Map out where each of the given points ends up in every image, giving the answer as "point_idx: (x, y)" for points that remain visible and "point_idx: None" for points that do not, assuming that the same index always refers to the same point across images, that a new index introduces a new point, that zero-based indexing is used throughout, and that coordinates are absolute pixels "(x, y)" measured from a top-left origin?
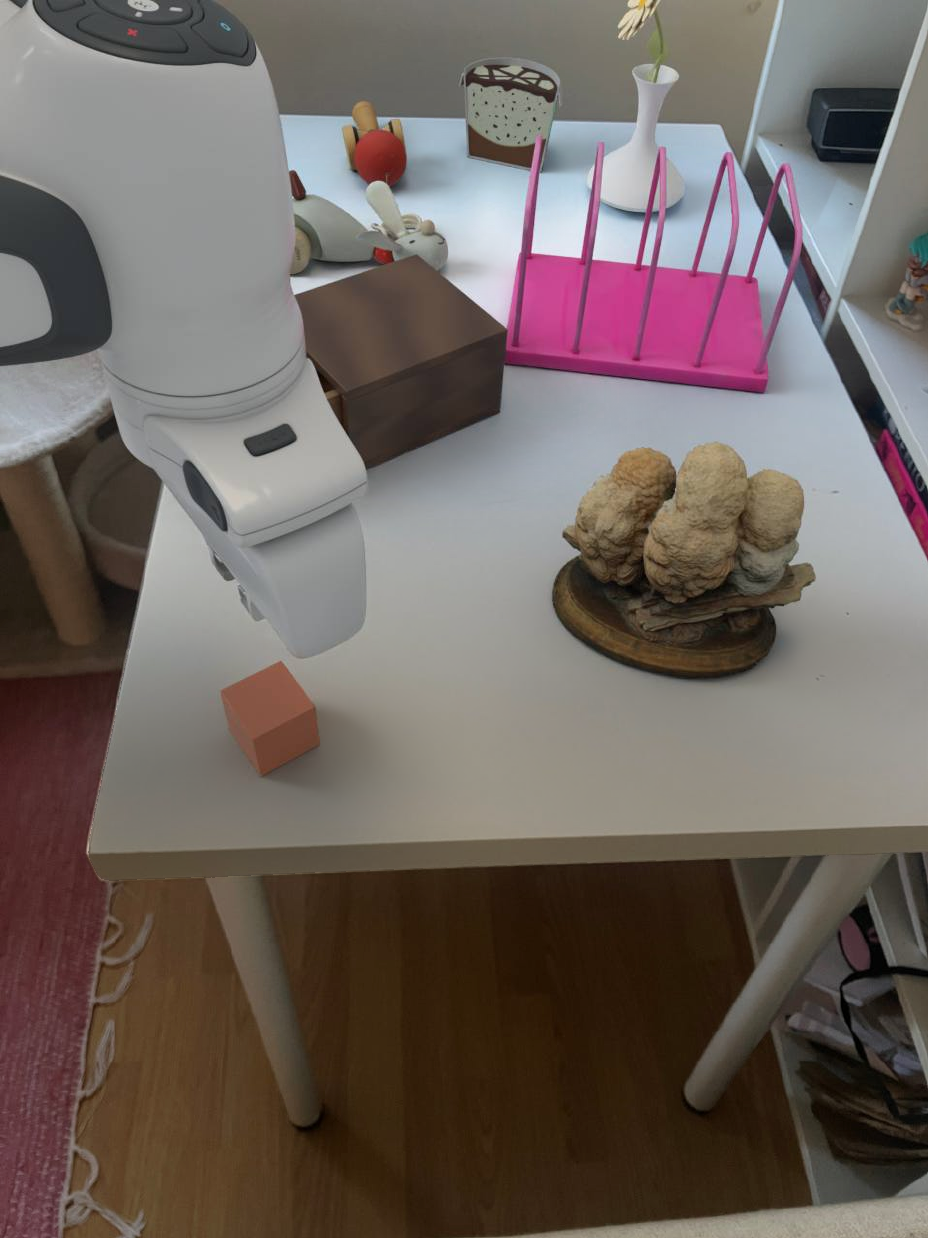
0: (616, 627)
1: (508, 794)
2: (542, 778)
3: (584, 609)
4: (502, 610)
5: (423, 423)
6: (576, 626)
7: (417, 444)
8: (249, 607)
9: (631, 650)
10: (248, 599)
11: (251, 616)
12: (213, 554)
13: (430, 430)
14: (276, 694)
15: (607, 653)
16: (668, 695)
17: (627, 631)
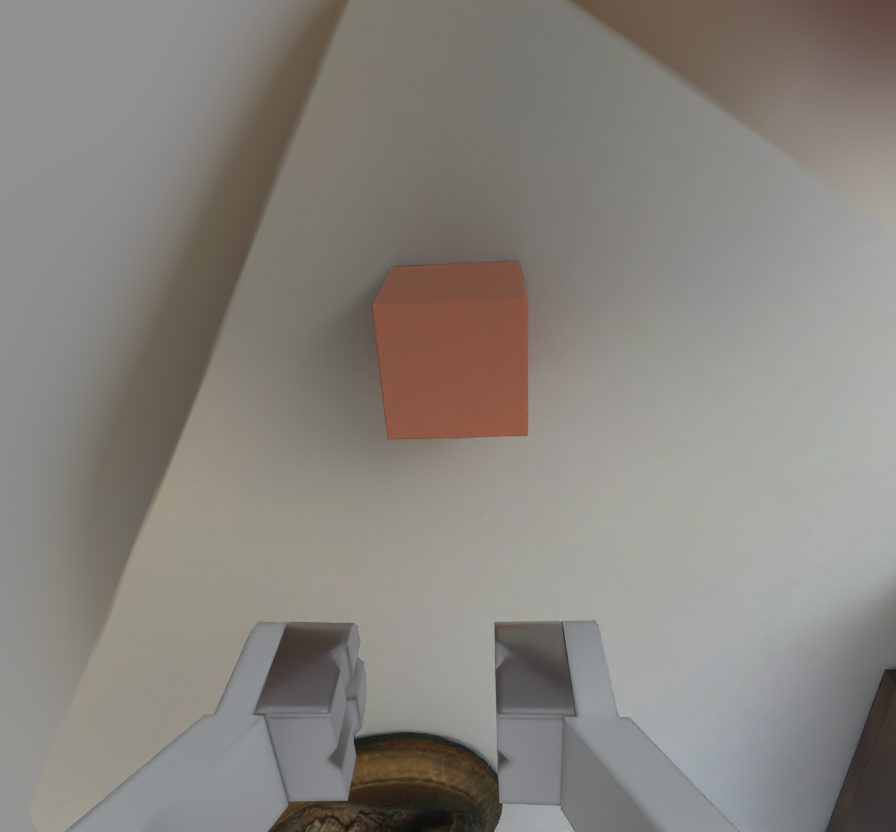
0: (350, 792)
1: (198, 555)
2: (205, 598)
3: (399, 781)
4: (487, 694)
5: (874, 815)
6: (392, 753)
7: (855, 767)
8: (248, 672)
9: None
10: (222, 721)
11: (266, 628)
12: (567, 704)
13: (859, 802)
14: (454, 392)
15: None
16: None
17: None
